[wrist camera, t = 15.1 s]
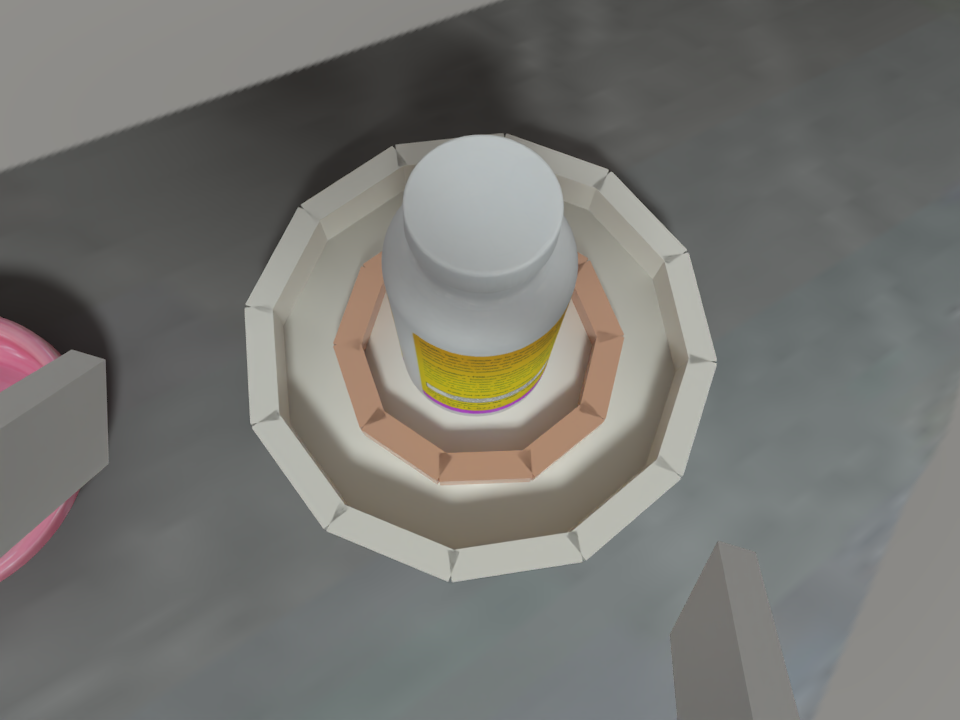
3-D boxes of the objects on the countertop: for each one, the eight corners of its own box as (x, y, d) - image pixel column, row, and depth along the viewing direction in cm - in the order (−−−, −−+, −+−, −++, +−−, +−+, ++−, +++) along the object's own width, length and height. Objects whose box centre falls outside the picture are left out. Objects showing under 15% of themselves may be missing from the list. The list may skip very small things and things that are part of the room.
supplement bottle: (573, 378, 32) (644, 248, 20) (445, 446, 31) (434, 352, 18) (503, 261, 33) (527, 73, 21) (378, 320, 32) (329, 159, 20)
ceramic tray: (184, 320, 33) (158, 296, 30) (508, 107, 37) (512, 68, 34) (439, 677, 29) (437, 688, 26) (774, 390, 33) (804, 372, 30)
